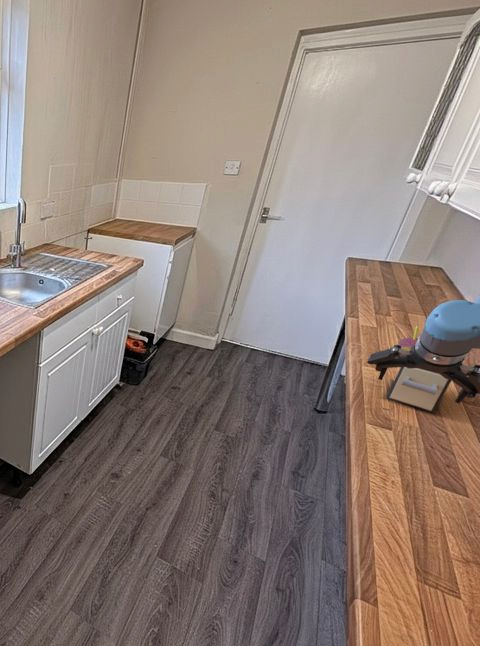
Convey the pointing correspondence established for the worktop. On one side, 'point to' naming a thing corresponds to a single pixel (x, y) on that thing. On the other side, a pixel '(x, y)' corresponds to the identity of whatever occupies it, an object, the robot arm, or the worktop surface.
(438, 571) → the worktop surface
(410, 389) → the drawer
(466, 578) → the worktop surface
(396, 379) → the cabinet
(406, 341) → the cupcake
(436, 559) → the worktop surface
